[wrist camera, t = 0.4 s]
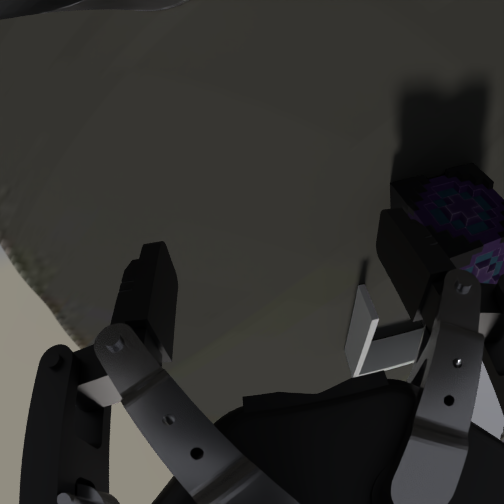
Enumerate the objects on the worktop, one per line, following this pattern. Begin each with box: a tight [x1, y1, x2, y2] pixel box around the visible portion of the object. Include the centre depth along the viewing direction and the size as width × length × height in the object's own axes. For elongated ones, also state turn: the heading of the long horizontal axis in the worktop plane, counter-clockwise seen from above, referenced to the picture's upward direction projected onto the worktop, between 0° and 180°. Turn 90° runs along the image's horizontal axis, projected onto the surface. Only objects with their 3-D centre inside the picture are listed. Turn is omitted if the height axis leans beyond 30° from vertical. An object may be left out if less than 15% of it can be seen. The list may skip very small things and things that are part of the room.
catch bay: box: [344, 284, 424, 378], centre depth 46 cm, size 18×18×6 cm
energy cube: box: [390, 163, 504, 326], centre depth 31 cm, size 12×12×12 cm
